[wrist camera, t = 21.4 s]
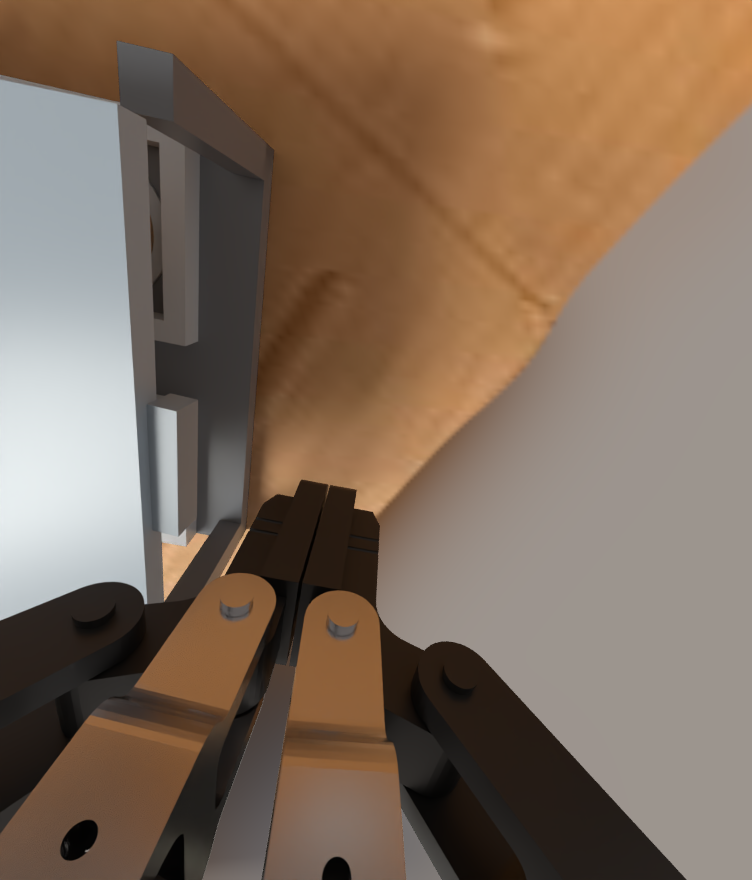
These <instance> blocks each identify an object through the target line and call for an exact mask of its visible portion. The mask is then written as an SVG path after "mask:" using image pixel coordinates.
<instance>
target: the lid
mask: <svg viewBox="0 0 752 880" xmlns="http://www.w3.org/2000/svg"><path fill="white" fill-rule="evenodd" d="M197 457H198V400H197V399H193V398H188V397H184V396H180V395H176V394H171V393H170V394H168V395H166V396H163V397H161V398H159V399H157V398H156V371H155V343H154V316H153V288H152V261H151V233H150V206H149V178H148V151H147V123H146V119H145V118H143V117H141V116H139V115H137V114H135V113H133V112H131V111H130V110H128V109H126V108H124V107H122V106H120V105H118V104H116V103H111V102H106V101H101V100H96V99H92V98H87V97H82V96H77V95H72V94H68V93H63V92H58V91H53V90H48V89H44V88H39V87H34V86H29V85H24V84H19V83H15V82H10V81H5V80H0V620H3V619H5V618H8V617H10V616H13V615H15V614H18V613H20V612H23V611H25V610H28V609H30V608H32V607H35V606H37V605H40V604H42V603H45V602H47V601H50V600H52V599H55V598H57V597H60V596H62V595H65V594H67V593H70V592H72V591H74V590H77V589H79V588H82V587H85V586H88V585H92V584H96V583H102V582H122V583H126V584H129V585H131V586H134V587H135V588H137V589H138V590H139V591H140V592H141V594H142V596H143V598H144V603H145V604H152V603H163V602H164V591H163V563H162V536H161V533H165V534H169V535H173V536H177V537H179V536H180V535H181V534H182V533H183V531H184V530H185V529H186V528H187V527H188V526H189V525H190V524H191V523H192V522H193V521H194V520H195V519H196V518H197Z"/></svg>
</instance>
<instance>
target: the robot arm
mask: <svg viewBox="0 0 752 880" xmlns="http://www.w3.org/2000/svg"><path fill="white" fill-rule="evenodd" d="M327 491H328V485H327V484H322V483H317V482H312V481H307V480H301V481H300V483H299V486H298V488H297V490H296V493H295V495H294V497H290V496H284V495H279V494H277V495H275V496H274V497H273V498H271V499H270V500H268V501H267V502H265V503H264V504H263V506H262V507H261V509H260V511H259V513H258V515H257V517H256V520H254V522H253V524H252V526H251V528H250V531H248V533H247V535H246V537H245V539H244V541H243V543H242V544H241V546H240V548H239V550H238V552H237V554H236V556H235V557H234V559H233V561H232V563H231V565H230V567H229V569H228V570H227V572H226V574H225V576H222V577H219V578H217V579H215V580H213V581H212V582H210V583H209V584H207V585H206V586H205V587H204V588H203V589H202V590H201V592H200V593H199V594H198V596H197V597H194V598H191V599H187V600H181V601H174V602H163V603H152V604H145V603H144V598H143V596H142V594H141V592H140V591H139V590H138V589H137V588H135V587H134V586H131V585H129V584H126V583H122V582H102V583H96V584H92V585H88V586H85V587H82V588H79V589H77V590H74V591H72V592H70V593H67V594H65V595H62V596H60V597H57V598H55V599H52V600H50V601H47V602H45V603H42V604H40V605H37V606H35V607H32V608H30V609H28V610H25V611H23V612H20V613H18V614H15V615H13V616H10V617H8V618H5V619H3V620H0V880H202V879H203V876H204V873H205V870H206V866H207V863H208V860H209V857H210V853H211V849H212V845H213V842H214V837H215V834H216V830H217V826H218V823H219V820H220V817H221V814H222V811H223V808H224V806H225V803H226V800H227V798H228V795H229V792H230V790H231V787H232V784H233V782H234V779H235V776H236V773H237V771H238V768H239V766H240V763H241V760H242V757H243V755H244V752H245V749H246V747H247V744H248V741H249V739H250V736H251V733H252V731H253V728H254V725H255V723H256V720H257V717H258V715H259V712H260V709H261V707H262V704H263V700H264V694H265V693H266V691H267V688H268V686H269V682H270V679H271V675H272V672H273V669H274V665H275V663H276V664H282V665H286V663H287V660H288V656H289V653H290V649H291V645H292V641H293V646H292V652H291V659H290V666H294V667H296V670H295V676H294V682H293V688H292V694H291V700H290V706H289V711H288V718H287V724H286V730H285V736H284V743H283V749H282V755H281V762H280V767H279V774H278V780H277V786H276V793H275V799H274V805H273V812H272V817H271V823H270V830H269V836H268V842H267V848H266V854H265V860H264V866H263V872H262V879H261V880H406V873H405V858H404V843H403V830H402V816H401V808H402V810H403V812H404V814H405V815H406V817H407V819H408V821H409V822H410V824H411V826H412V828H413V829H414V831H415V833H416V835H417V837H418V838H419V840H420V842H421V844H422V845H423V847H424V849H425V851H426V853H427V854H428V856H429V858H430V860H431V861H432V863H433V865H434V867H435V868H436V870H437V872H438V874H439V875H440V877H441V879H442V880H686V879H685V878H684V877H683V875H682V874H681V873H680V872H679V871H678V870H677V869H676V868H675V867H674V866H673V865H672V863H671V862H670V861H669V860H668V859H667V858H666V857H665V856H664V855H663V854H662V853H661V852H660V850H658V848H657V847H656V846H655V845H654V844H653V843H652V842H651V841H650V840H649V839H648V838H647V837H646V835H645V834H644V833H643V832H642V831H641V830H640V829H639V828H638V827H637V826H636V824H635V823H634V822H633V821H632V820H631V819H630V818H629V817H628V816H627V815H626V814H625V812H624V811H623V810H622V809H621V808H620V807H619V806H618V805H617V804H616V803H615V802H614V800H613V799H612V798H611V797H610V796H609V795H608V794H607V793H606V792H605V791H604V790H603V789H602V788H601V786H600V785H599V784H598V783H597V782H596V781H595V780H594V779H593V778H592V777H591V776H590V775H589V773H588V772H587V771H586V770H585V769H584V768H583V767H582V766H581V765H580V764H579V762H578V761H577V760H576V759H575V758H574V757H573V756H572V755H571V754H570V753H569V752H568V751H567V749H566V748H565V747H564V746H563V745H562V744H561V743H560V742H559V741H558V740H557V739H556V738H555V736H553V734H552V733H551V732H550V731H549V730H548V729H547V728H546V727H545V726H544V724H543V723H542V722H541V721H540V720H539V719H538V718H537V717H536V716H535V715H534V714H533V713H532V712H531V711H530V709H529V708H528V707H527V706H526V705H525V704H524V703H523V702H522V701H521V699H520V698H518V696H517V695H516V694H515V693H514V692H513V691H512V690H511V689H510V688H509V686H508V685H507V684H506V683H505V682H504V681H503V680H502V679H501V678H500V677H499V676H498V675H497V673H496V672H495V671H494V670H493V669H492V668H491V667H490V666H489V665H488V664H487V663H486V661H485V660H483V658H482V657H480V656H479V655H478V654H477V653H476V652H474V651H473V650H471V649H470V648H468V647H466V646H464V645H461V644H458V643H454V642H447V641H446V642H438V643H435V644H432V645H430V646H429V647H428V648H427V649H425V651H424V650H421V649H420V648H418V647H416V646H414V645H412V644H410V643H408V642H406V641H404V640H402V639H400V638H398V637H397V636H396V635H394V634H393V633H392V632H391V631H390V630H389V629H388V628H387V627H386V626H385V625H384V623H383V622H382V620H381V619H380V617H379V614H378V612H377V608H376V590H377V589H376V588H377V570H378V550H379V530H380V525H379V523H378V522H377V519H376V518H375V516H374V514H373V512H370V511H364V510H359V509H354V504H355V498H356V491H357V490H354V489H349V488H344V487H338V486H333V485H330V488H329V491H328V495H327ZM326 497H327V498H326ZM293 637H294V639H293Z"/></svg>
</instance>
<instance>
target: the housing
mask: <svg viewBox="0 0 752 880" xmlns="http://www.w3.org/2000/svg"><path fill="white" fill-rule="evenodd" d="M117 56H118V74H119V91H120V102H117V101H112V100H108V99H104V98H99V97H95V96H91V95H86V94H82V93H78V92H73V91H69V90H64V89H60V88H56V87H51V86H47V85H43V84H38V83H34V82H30V81H25V80H21V79H17V78H12V77H8V76H4V75H0V80H5V81H10V82H15V83H19V84H24V85H29V86H34V87H39V88H44V89H48V90H53V91H58V92H63V93H68V94H72V95H77V96H82V97H87V98H92V99H96V100H101V101H106V102H111V103H116V104H118V105H120V106H122V107H124V108H126V109H128V110H130V111H131V112H133V113H135V114H137V115H139V116H141V117H143V118H145V119H146V123H147V151H148V178H149V206H150V216H151V220H152V224H153V232H154V243H153V250H152V254H151V261H152V288H153V316H154V343H155V371H156V398H157V399H159V398H161V397H163V396H166V395H168V394H170V393H171V394H176V395H180V396H184V397H188V398H193V399H197V400H198V457H197V518H196V519H195V520H194V521H193V522H192V523H191V524H190V525H189V526H188V527H187V528H186V529H185V530H184V531H183V533H182V534H181V535H180V536H179V537H177V536H173V535H169V534H165V533H161V536H162V542H164V543H169V544H175V545H180V546H187V545H188V543H189V542H190V541H191V539H192V538H193V537H194V535H195V534H196V533H200V534H206V535H209V537H208V538H207V540H206V541H205V542H204V544H203V545H202V547H201V548H200V550H199V551H198V553H197V554H196V556H195V557H194V559H193V560H192V562H191V563H190V565H189V566H188V568H187V569H186V571H185V572H184V574H183V575H182V577H181V578H180V579H179V581H178V582H177V584H176V585H175V587H174V588H173V590H172V591H171V593H170V594H169V596H168V597H167V599H166V600H165V602H174V601H181V600H187V599H191V598H194V597H197V596H198V594H199V593H200V592H201V590H202V589H203V588H204V587H205V586H206V585H207V584H209V583H210V582H212V581H213V580H215V579H217V578H219V577H220V576H221V574H222V572H223V570H224V569H225V567H226V565H227V563H228V561H229V560H230V558H231V556H232V554H233V552H234V550H235V549H236V547H237V545H238V543H239V541H240V540H241V538H242V536H243V534H244V532H245V531H246V521H247V508H248V494H249V481H250V467H251V454H252V440H253V427H254V413H255V400H256V386H257V373H258V359H259V346H260V332H261V319H262V305H263V292H264V278H265V265H266V251H267V238H268V224H269V211H270V197H271V184H272V170H273V157H274V150H273V149H272V148H271V147H270V146H269V145H268V144H267V143H266V142H265V141H264V140H263V139H262V138H261V137H259V136H258V135H257V134H256V133H255V132H254V131H253V130H252V129H251V128H250V127H249V126H248V125H247V124H246V123H245V122H244V121H243V120H242V119H241V118H240V117H238V116H237V115H236V114H235V113H234V112H233V111H232V110H231V109H230V108H229V107H228V106H227V105H226V104H225V103H224V102H223V101H222V100H221V99H220V98H219V97H218V96H216V95H215V94H214V93H213V92H212V91H211V90H210V89H209V88H208V87H207V86H206V85H205V84H204V83H203V82H202V81H201V80H200V79H199V78H198V77H197V76H195V75H194V74H193V73H192V72H191V71H190V70H189V69H188V68H187V67H186V66H185V65H184V64H183V63H182V62H181V61H180V60H179V59H178V58H177V57H176V56H175V55H173V54H171V53H167V52H163V51H159V50H154V49H150V48H146V47H142V46H138V45H133V44H129V43H125V42H121V41H117Z"/></svg>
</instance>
